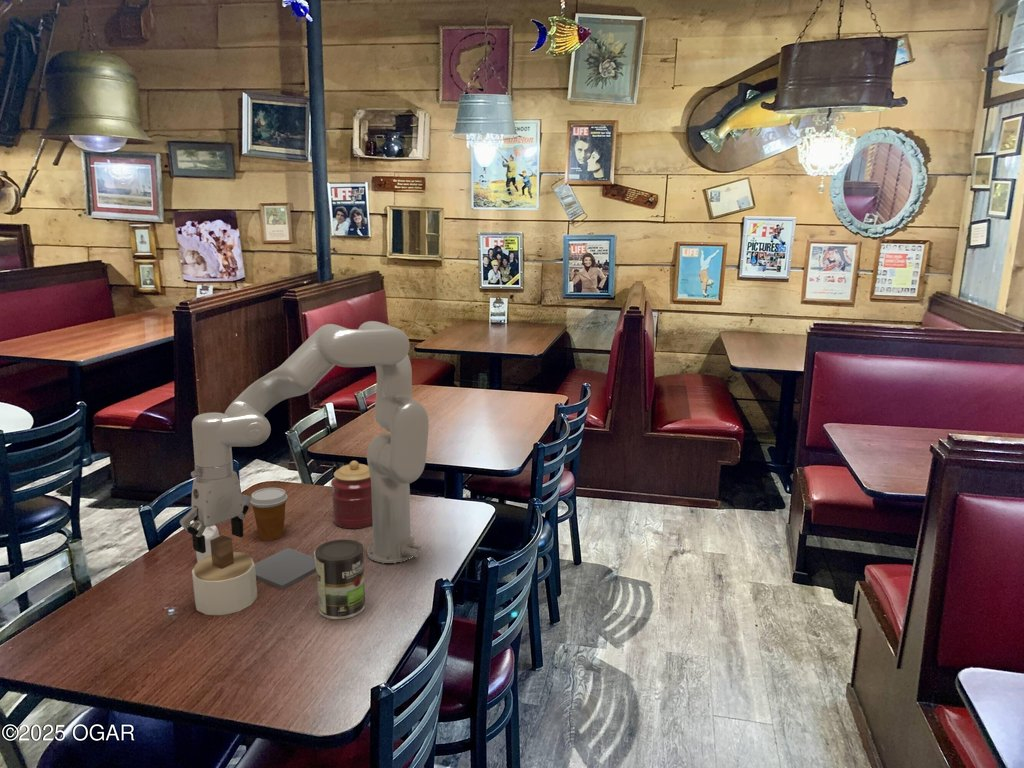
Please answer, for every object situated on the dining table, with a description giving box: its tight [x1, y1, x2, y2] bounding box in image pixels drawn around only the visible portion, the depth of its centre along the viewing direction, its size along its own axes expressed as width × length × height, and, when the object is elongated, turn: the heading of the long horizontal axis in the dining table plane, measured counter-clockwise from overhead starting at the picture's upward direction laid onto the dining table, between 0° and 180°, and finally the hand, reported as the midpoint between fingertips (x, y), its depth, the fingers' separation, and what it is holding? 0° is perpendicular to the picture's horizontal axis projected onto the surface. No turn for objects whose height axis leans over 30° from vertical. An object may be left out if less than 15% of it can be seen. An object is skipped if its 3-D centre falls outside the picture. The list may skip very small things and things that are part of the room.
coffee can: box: [314, 538, 366, 621], centre depth 163 cm, size 10×10×14 cm
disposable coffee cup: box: [250, 487, 288, 541], centre depth 198 cm, size 10×10×12 cm
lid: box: [193, 534, 253, 581], centre depth 164 cm, size 12×12×7 cm
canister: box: [330, 460, 373, 529], centre depth 207 cm, size 13×13×18 cm
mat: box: [254, 547, 317, 590], centre depth 181 cm, size 14×14×1 cm
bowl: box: [191, 557, 258, 616], centre depth 166 cm, size 13×13×8 cm
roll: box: [195, 524, 220, 563], centre depth 184 cm, size 6×12×6 cm
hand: (219, 543), depth 163 cm, fingers open, 9 cm apart
